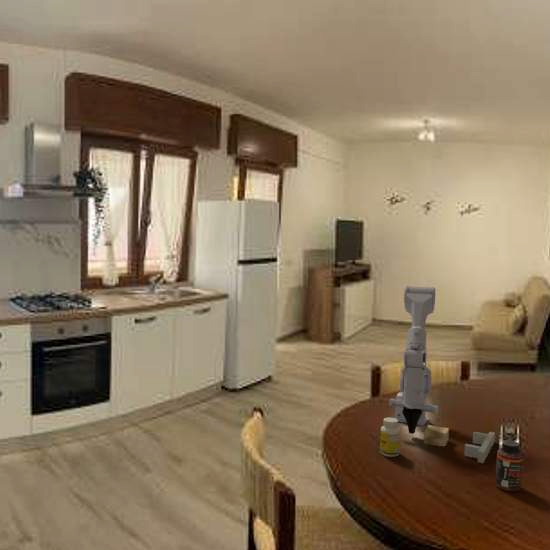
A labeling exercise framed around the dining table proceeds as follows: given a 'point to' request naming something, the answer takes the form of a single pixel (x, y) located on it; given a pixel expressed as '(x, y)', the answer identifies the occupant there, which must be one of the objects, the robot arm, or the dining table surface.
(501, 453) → the supplement bottle
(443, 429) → the maple block
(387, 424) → the supplement bottle
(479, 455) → the bracket
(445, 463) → the dining table surface
